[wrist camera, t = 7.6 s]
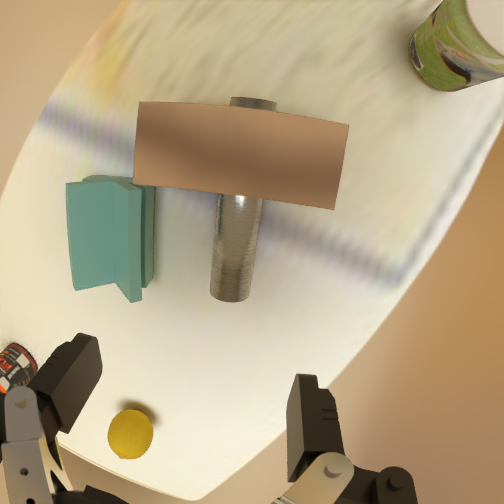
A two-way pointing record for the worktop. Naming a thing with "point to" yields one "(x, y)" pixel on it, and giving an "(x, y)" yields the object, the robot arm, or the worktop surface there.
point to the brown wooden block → (239, 152)
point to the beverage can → (460, 44)
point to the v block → (111, 233)
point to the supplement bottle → (15, 368)
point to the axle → (236, 233)
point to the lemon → (130, 434)
